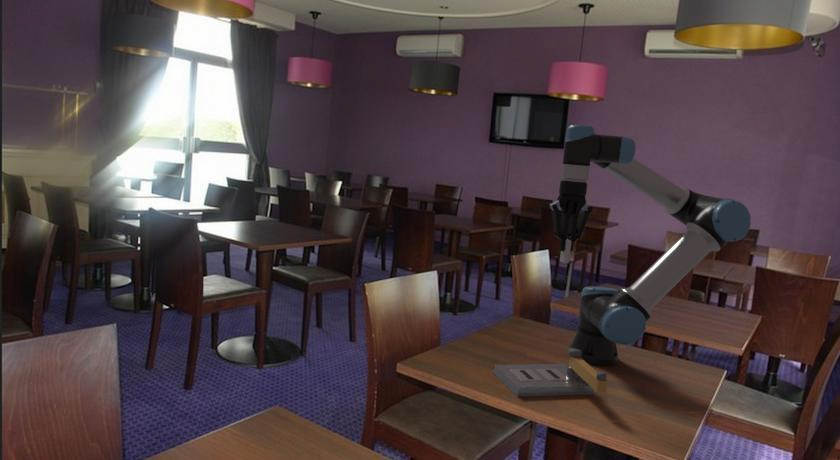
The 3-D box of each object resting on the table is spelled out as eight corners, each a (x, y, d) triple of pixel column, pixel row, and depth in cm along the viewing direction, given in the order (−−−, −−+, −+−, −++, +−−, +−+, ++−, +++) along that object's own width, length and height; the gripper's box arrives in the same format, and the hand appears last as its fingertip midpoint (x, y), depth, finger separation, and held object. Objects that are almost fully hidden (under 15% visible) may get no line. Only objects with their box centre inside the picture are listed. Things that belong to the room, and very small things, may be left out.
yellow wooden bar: (564, 363, 169) (566, 347, 168) (576, 363, 170) (578, 348, 169) (594, 392, 149) (597, 374, 149) (608, 392, 150) (610, 375, 149)
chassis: (563, 372, 176) (565, 357, 176) (592, 394, 161) (594, 378, 160) (493, 373, 170) (495, 357, 170) (517, 396, 155) (519, 379, 154)
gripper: (587, 181, 175) (577, 260, 178) (547, 178, 172) (537, 258, 175) (601, 183, 168) (591, 265, 171) (559, 179, 165) (549, 264, 168)
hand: (564, 262), depth 173 cm, fingers closed
